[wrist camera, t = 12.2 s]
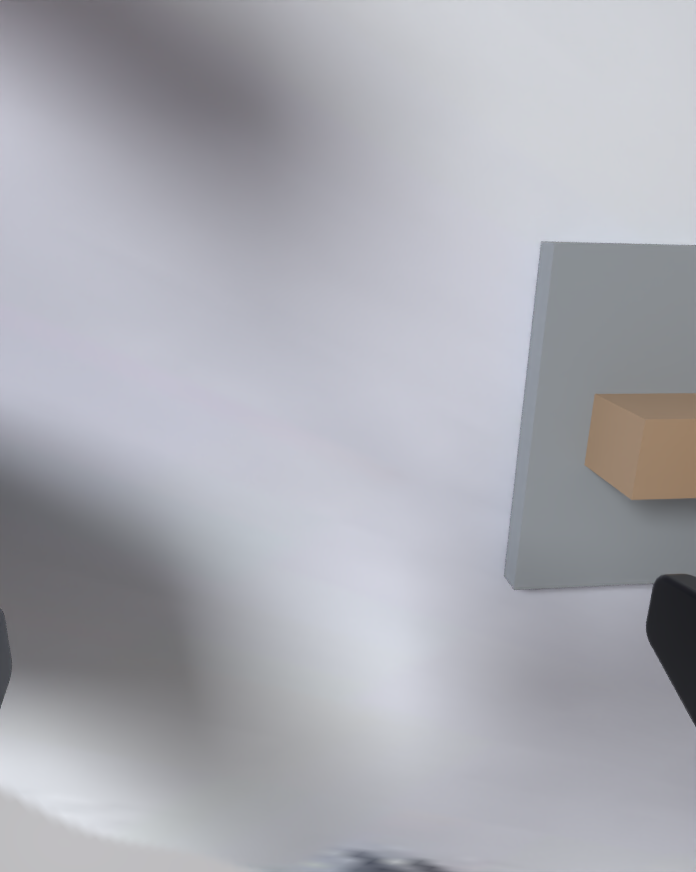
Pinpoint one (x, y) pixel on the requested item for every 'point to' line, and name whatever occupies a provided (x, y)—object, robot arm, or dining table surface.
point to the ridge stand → (607, 419)
